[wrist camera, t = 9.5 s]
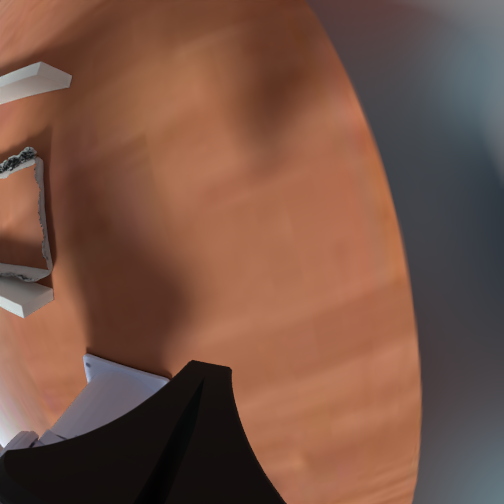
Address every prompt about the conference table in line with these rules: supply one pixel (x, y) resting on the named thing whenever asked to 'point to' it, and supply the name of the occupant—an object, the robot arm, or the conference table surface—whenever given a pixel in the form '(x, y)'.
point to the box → (3, 90)
